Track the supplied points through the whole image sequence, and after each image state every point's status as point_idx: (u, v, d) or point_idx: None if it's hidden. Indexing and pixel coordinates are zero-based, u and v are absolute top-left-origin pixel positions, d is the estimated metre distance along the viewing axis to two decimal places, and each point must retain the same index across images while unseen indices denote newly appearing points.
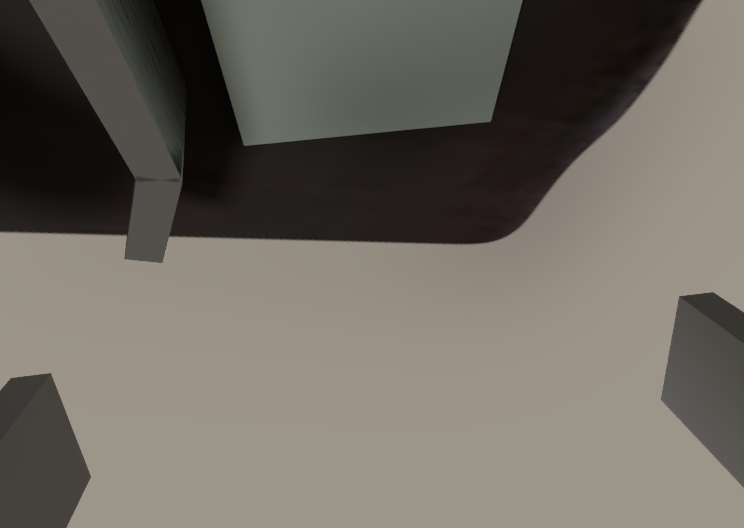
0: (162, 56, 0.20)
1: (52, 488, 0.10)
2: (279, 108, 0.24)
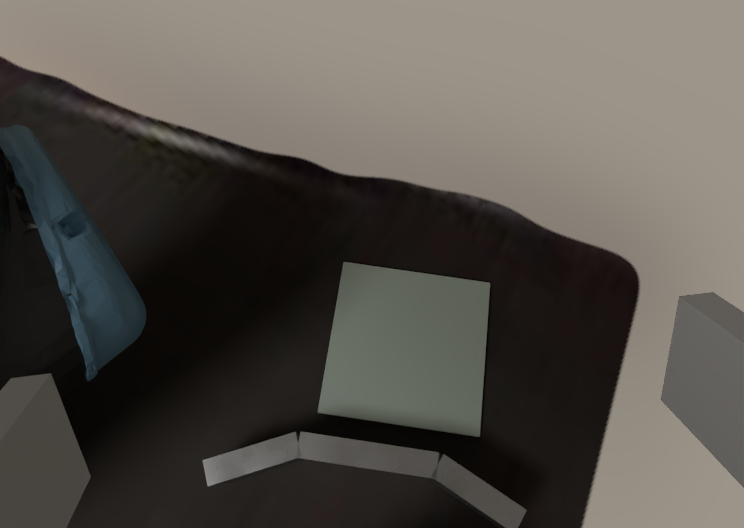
0: None
1: (52, 488, 0.10)
2: (453, 404, 0.40)
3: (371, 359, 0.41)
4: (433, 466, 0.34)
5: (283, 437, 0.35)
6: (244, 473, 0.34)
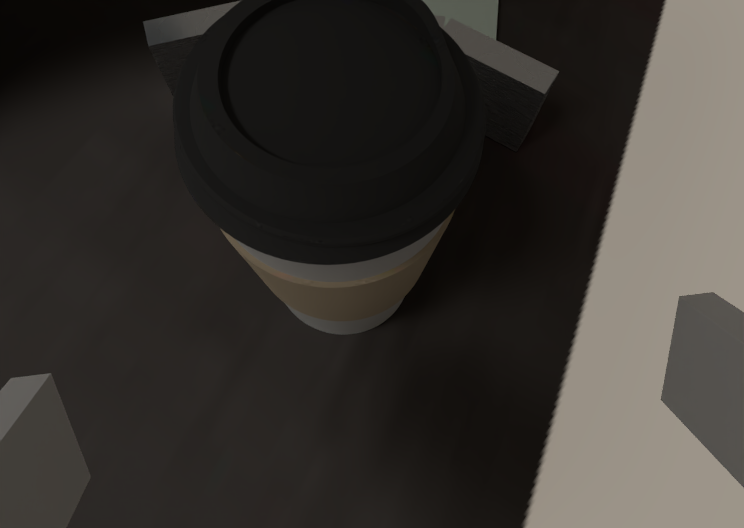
0: None
1: (52, 488, 0.10)
2: None
3: None
4: None
5: None
6: (196, 34, 0.26)
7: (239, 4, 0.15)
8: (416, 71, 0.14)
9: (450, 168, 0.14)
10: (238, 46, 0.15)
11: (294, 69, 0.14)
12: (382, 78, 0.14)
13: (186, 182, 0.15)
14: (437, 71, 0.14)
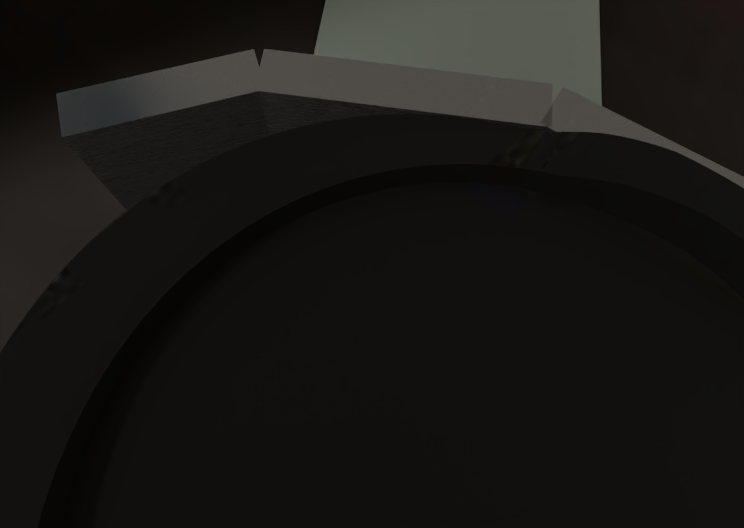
0: None
1: None
2: None
3: (398, 26, 0.23)
4: (543, 106, 0.16)
5: (228, 58, 0.17)
6: (143, 116, 0.16)
7: (145, 231, 0.04)
8: None
9: None
10: (134, 399, 0.04)
11: (341, 510, 0.04)
12: None
13: None
14: None
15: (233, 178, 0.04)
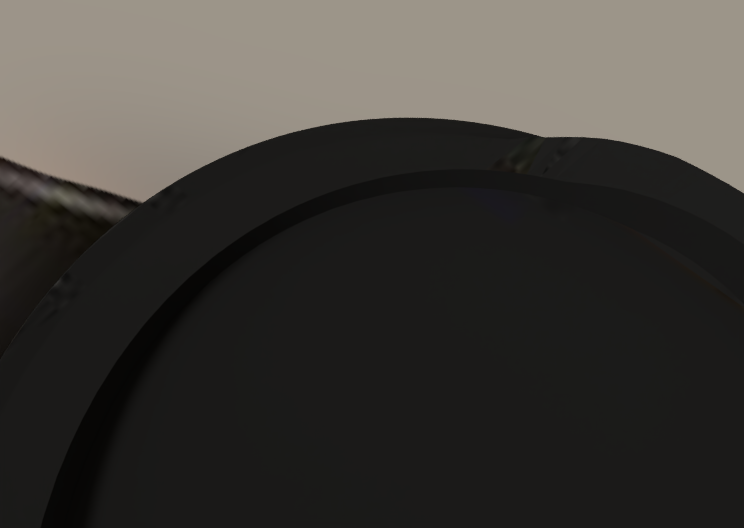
0: None
1: None
2: None
3: None
4: None
5: None
6: None
7: (145, 237, 0.04)
8: None
9: None
10: (133, 404, 0.04)
11: (341, 516, 0.04)
12: None
13: None
14: None
15: (234, 183, 0.04)
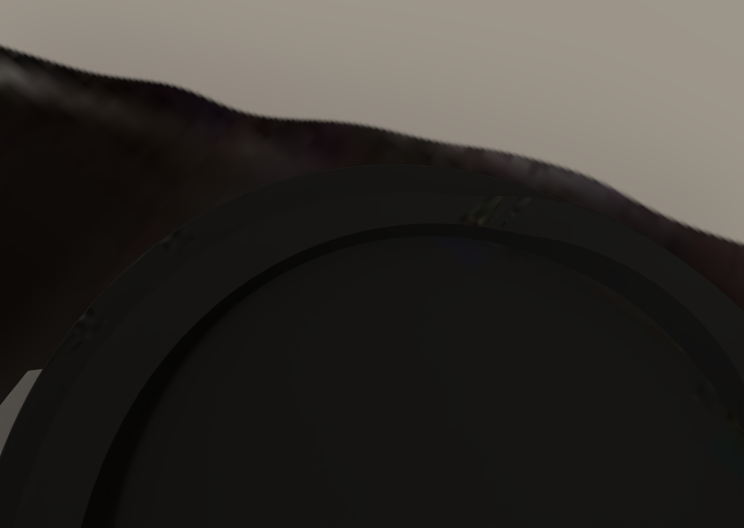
0: None
1: None
2: None
3: None
4: None
5: None
6: None
7: (161, 283, 0.05)
8: (711, 522, 0.05)
9: None
10: (153, 428, 0.05)
11: (328, 521, 0.05)
12: None
13: None
14: None
15: (236, 237, 0.05)
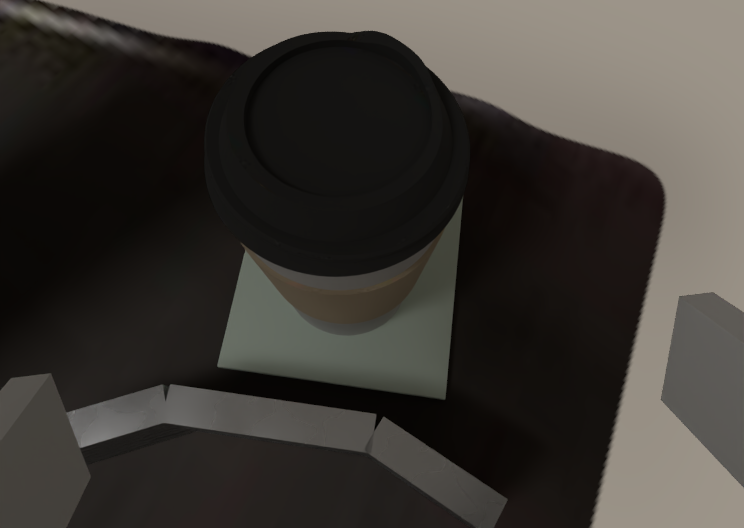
0: None
1: (52, 488, 0.10)
2: (409, 355, 0.29)
3: None
4: (367, 434, 0.23)
5: (143, 393, 0.23)
6: (80, 446, 0.22)
7: (261, 54, 0.17)
8: (410, 113, 0.17)
9: (439, 196, 0.17)
10: (260, 91, 0.17)
11: (307, 111, 0.17)
12: (382, 119, 0.17)
13: (215, 205, 0.18)
14: (428, 113, 0.17)
15: (282, 42, 0.18)
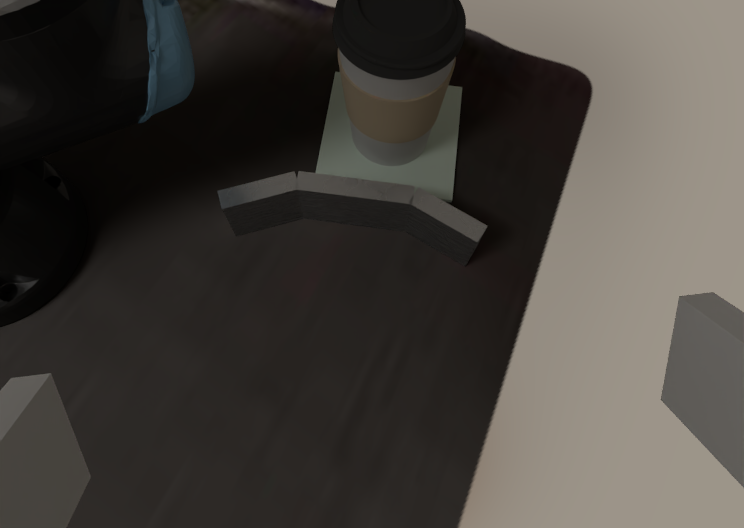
0: None
1: (52, 488, 0.10)
2: (429, 177, 0.47)
3: None
4: (410, 195, 0.41)
5: (284, 175, 0.41)
6: (252, 200, 0.41)
7: None
8: (436, 1, 0.35)
9: (450, 40, 0.35)
10: None
11: (387, 0, 0.35)
12: (423, 4, 0.35)
13: (340, 49, 0.36)
14: (445, 1, 0.35)
15: None
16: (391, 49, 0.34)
